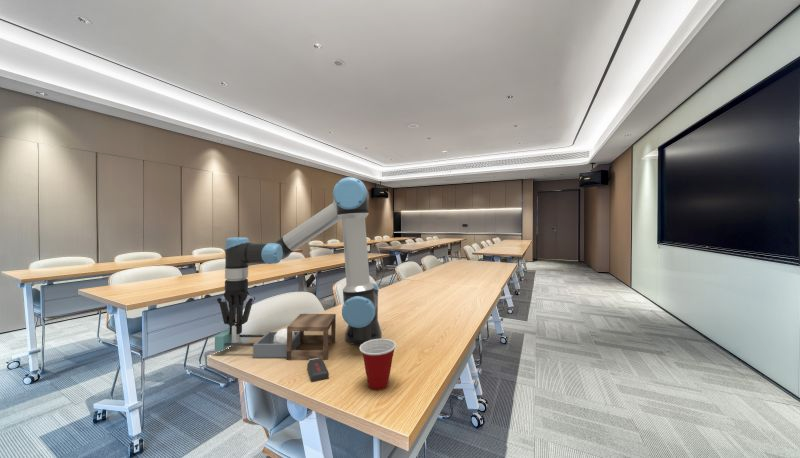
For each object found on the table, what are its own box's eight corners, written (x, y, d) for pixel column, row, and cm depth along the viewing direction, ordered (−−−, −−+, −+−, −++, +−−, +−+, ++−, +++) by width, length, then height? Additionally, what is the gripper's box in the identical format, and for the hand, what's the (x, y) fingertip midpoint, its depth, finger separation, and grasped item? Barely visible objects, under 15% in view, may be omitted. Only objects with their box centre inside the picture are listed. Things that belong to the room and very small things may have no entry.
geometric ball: (285, 353, 110) (294, 333, 115) (292, 353, 105) (301, 331, 109) (266, 347, 107) (276, 326, 112) (273, 346, 102) (283, 323, 106)
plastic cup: (359, 375, 90) (360, 337, 90) (394, 375, 90) (394, 337, 90) (357, 396, 79) (358, 352, 79) (396, 394, 80) (397, 351, 80)
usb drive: (311, 383, 85) (311, 374, 85) (305, 365, 96) (306, 357, 96) (328, 380, 88) (328, 371, 88) (321, 363, 98) (321, 355, 98)
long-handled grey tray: (300, 343, 113) (300, 326, 113) (289, 357, 101) (289, 338, 101) (231, 343, 112) (231, 326, 112) (211, 357, 100) (211, 338, 100)
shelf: (335, 342, 115) (335, 313, 115) (327, 359, 100) (327, 327, 100) (300, 342, 115) (300, 313, 115) (286, 360, 99) (287, 326, 99)
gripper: (259, 277, 110) (258, 338, 110) (224, 277, 110) (223, 338, 110) (249, 281, 103) (248, 346, 103) (212, 280, 102) (211, 346, 102)
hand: (235, 342), depth 106 cm, fingers closed
